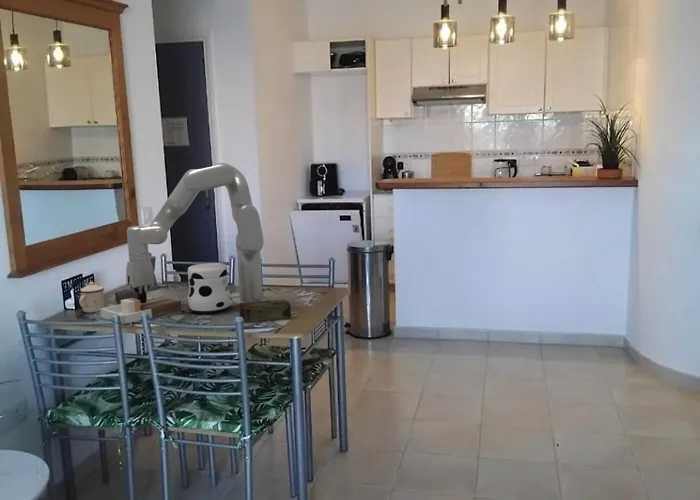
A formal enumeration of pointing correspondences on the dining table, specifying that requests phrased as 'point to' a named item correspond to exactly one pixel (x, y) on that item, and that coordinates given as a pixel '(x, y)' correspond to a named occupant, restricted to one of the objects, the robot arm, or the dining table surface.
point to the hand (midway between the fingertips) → (142, 302)
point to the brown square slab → (161, 305)
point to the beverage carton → (265, 310)
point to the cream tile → (127, 306)
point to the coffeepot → (153, 271)
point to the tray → (127, 318)
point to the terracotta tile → (136, 304)
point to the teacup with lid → (92, 298)
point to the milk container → (208, 288)
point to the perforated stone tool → (125, 295)
